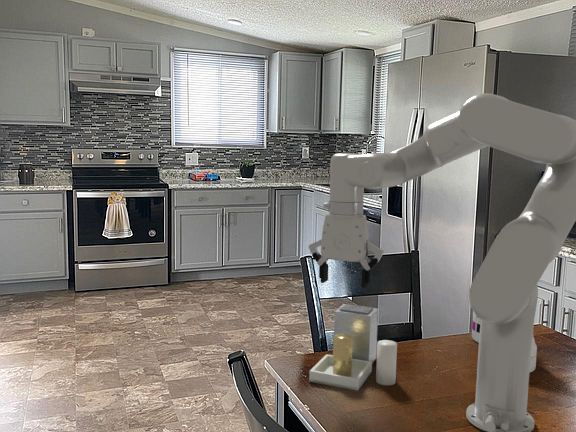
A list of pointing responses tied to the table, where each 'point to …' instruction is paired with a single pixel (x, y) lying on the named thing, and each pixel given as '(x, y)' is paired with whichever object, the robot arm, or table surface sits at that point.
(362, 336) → the grey box
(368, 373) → the tray
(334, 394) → the table surface
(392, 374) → the cylinder
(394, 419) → the table surface
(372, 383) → the table surface
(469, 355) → the table surface
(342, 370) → the cylinder
